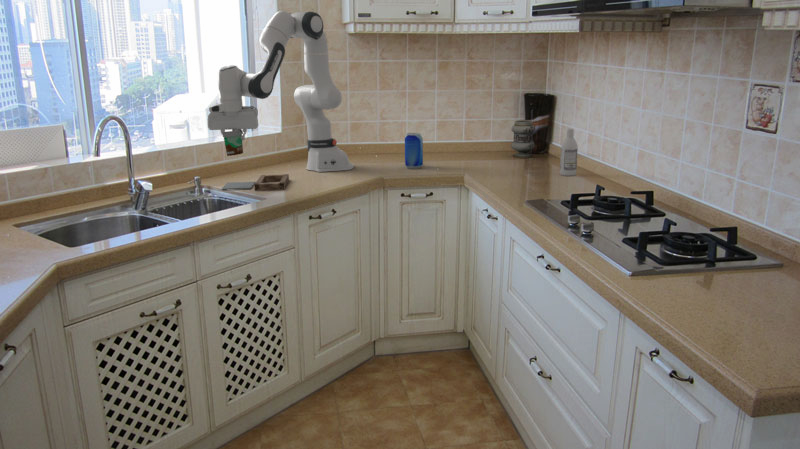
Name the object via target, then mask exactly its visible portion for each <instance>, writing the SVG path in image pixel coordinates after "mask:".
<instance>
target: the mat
mask: <svg viewBox="0 0 800 449" xmlns="http://www.w3.org/2000/svg"><path fill="white" fill-rule="evenodd" d="M255 183H256V181H235V182H234V181H233V182H231V181H230V182H228V181H227V182H226V183H225V184H224V186H222V188H221V191H228V190H227V189H243V190H252V189H253V187H255V185H254V184H255Z"/></svg>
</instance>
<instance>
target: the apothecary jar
mask: <svg viewBox="0 0 800 449" xmlns="http://www.w3.org/2000/svg"><path fill="white" fill-rule="evenodd" d="M511 131H512V132H513V141H512V142H511V144H510V147H511V149H512V150H513V151H516V152H517V153H515V154H513V155H512V156H513V158H516V159H517V158H518V159H530V158H532V157H533V155H532V154H531V153H529V151H532V150H534V149H535V147H536V143H535V141H534V136H533V134H534V132H535V131H536V126H535V125H533V121H532V120H529V119H519V120H515V121H514V124H513V125H512V127H511Z"/></svg>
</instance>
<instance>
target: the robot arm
mask: <svg viewBox="0 0 800 449" xmlns="http://www.w3.org/2000/svg"><path fill="white" fill-rule="evenodd" d="M290 39H302V41H303V66H304V72H305V74H306V75H307V76H308V77H309V78H310V80H311V82H312V84H304V85H300V86H298V87H296V89H295V91H294V93H293V100H294V103H295V104H296V105H297V106H298V107H299V108H300V110H301V111H302V113H303V116H304V119H305V121H306V128H307V141H306V146H307V147H306V148H307V151H308V152H307V153H308V154H307V155H308V157H307V164H306V170H308V171H311V172H319V173H324V172H325V173H326V172H337V171H338V172H339V171H350V170H353V169H354V166H355V165H354V163H352V162H350V160H349V156H348V154H347V153H346V152H345V151H344V150H342V149H341V148H339V147H338V146H337V139H336V138H332V123H331V121H330V119H329V118H328V117H327V116H326V115H325V113H324V111H323V110H326V111H328V110H334V109H337V108H339V106H340V105H341V103H342V99H343V98H342V97H343V96H342V92H341V91H340V89H339V88H338V87H337V86H336V85H335V83H334V81H333V79H332V76H331V72H330V64H329V47H328V46H329V45H328V40H327V35H326V32H325V31H324V22H323V19H322V17H321V14H319V13H317V12H316V11H315V12H314V11H297V12H291V13H289V12H287V11H285V10H279V11H277V12H275V14H273V16H272V17H271V18H270V19H269V20H268V22H267V23H266V25H264V28H263V30H262V32H261V33H260V35H259V40H258V42H259V45H260V47H261V48H262V50H263V51H264V52H265V53H266V54H267V58H266V60H265V62H264V64H263V66H262V69H261V70H260V71H259V72H257V73H250V72H247V71H244V70H242V69H240V68H239V67H238V66H237V65H233V64H232V65H226V66H223V67H220V68H219V69H218V73H217V84H218V85H217V86H218V90H219V103H216V104H214V105H211V106H210V107H208V111H209V113H208V115H207V128H208V130H210V131H220V134H221V135H222V136H223V132H226V131H228V130H229V131H232V129H241V130H242V131H243V134H242V136H241V140H242V141H245V140H246V137H245V136H246V134H247V132H248V130H256V129H258V127H259V119H258V115H259V112H258V111H259V110H258V108H257V107H255V106H253V105H249V106H247V105H246V106H245V105H244V106H243V98H242V97H246V98H247V97H248V98H256V99H260V100H264V99H267V98H268V97H270V95H271V94H272V92H273V89H274V85H275V81H276V77H277V75H278V72H279V70H280V69H281V68H280V67H281V65H282V63H283V60H284V58H285V54H286V46H287V44H288V42H289V40H290Z"/></svg>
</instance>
